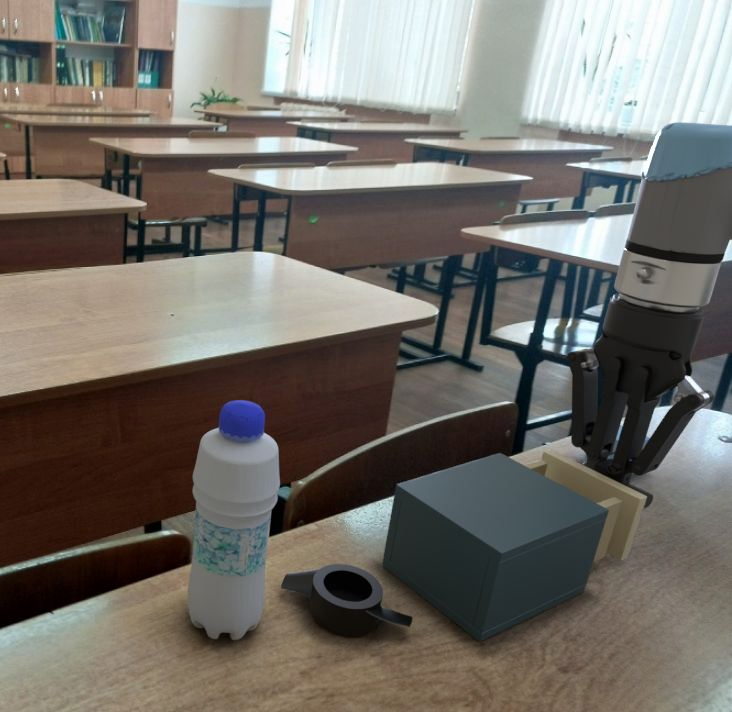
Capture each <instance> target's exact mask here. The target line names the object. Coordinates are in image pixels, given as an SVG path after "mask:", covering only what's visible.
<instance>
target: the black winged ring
mask: <svg viewBox="0 0 732 712" xmlns="http://www.w3.org/2000/svg"><path fill="white" fill-rule="evenodd" d="M280 589H282V590H286V591H290V592H292V593H293V592H294V593H298V594H301V595H303V596H305V597H308V598H310V599H309V609H308V610H309V614H310V617H311V619H312V620H313V621H314V623H315V624H317V626H319V627H320V628H321V629H323V630H324V631H326V632H328V633H330V634H332V635H335V636H338V637H343V638H350V639H351V638H352V639H353V638H355V639H357V638H362V637H366V636H368V635H370V634H371V633H373V632H374V631H375V630H376V629H377V626H378V623H379V620H381V621H384V622H387V623H390V624H394V625H397V626H401V627H407V628H410V627H411V625H412V623H413V616H411V615H408V614H405V613H403V612H402V613H401V612H399V611H396V610H393V609H391V608H388V607H385V606H382V603H383V597H384V590H383V589H384V588H383V586H382V584H381V582H380V581H379V580H378V579H377V577H376V576H374V575H373V574H372V573H371V572H368V571H367V570H365V569H362V568H361V567H359V566H354V565H351V564H345V563H334V564H333V563H332V564H328V565H325V566H322V567H321V568H316V569H309V570H304V571H303V570H301V571H295V572H294V571H293V572H287V573H285V575H284V578H283V579H282V582H281V586H280Z"/></svg>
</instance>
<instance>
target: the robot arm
mask: <svg viewBox="0 0 732 712" xmlns="http://www.w3.org/2000/svg"><path fill="white" fill-rule="evenodd" d="M640 179H641V181H640V185H639V189H638V193H637V197H636V201H635V205H634V210H633V214H632V218H631V222H630V226H629V230H628V234H627V237H626V240H625V244H624V248H623V250H622V254H621V258H620V262H619V267H618V268H617V269H618V270H617V273H616V276H615V280H614V284H613V288H614V289H615V291H616V292H617V293H615V294H613V296H611V297H610V298H609V301H608V305H607V309H606V312H605V316H604V320H603V323H602V334H601V335H600V337H599V338H598V339H597V340H595V343H594V345H593V347H591V348H583V349H579V350H573V351H570V352H568V353H567V354H566V360H567V363H568V366H569V369H570V373H571V375H572V376H571V430H570V431H571V432H570V433H571V435H570V437H571V438H570V439H571V440H570V441H571V444H572V446H573V447H575V448H577V449H578V448H579V449H581V451H583V452H584V453H585V454H586V455H587V462H586V467H588V468H590V469H592V470H594V471H596V472H598V473H600V474H602V475H604V476H606V477H608V478H610V479H613V480H615V481H617V482H619V483H621V484H623V485H625V486H627V487H628V486H629V483H630V484H631V480H632V476H633V475H635V476H643V475H645V474H648V473H650V472H654V471H656V470H657V469H658V468H660V465H662V462H663V461H664V459H665V458H666V456H667V455H668V454H669V452H670V451H671V449H672V448H673V446H674V445H675V443H676V442H677V440H678V439H679V438H680V436H681V435H682V433H683V432H684V430H685V429H686V428H687V426H688V424H690V422H691V420H692V419H693V418H694V416H695V414H696V413H697V412H698V411H700V410H702V409H703V408H705V407H706V406H709V404H711V403H712V402H714V399H715V393H713V391H711V390H709V389H704V390H703V389H702V388H701V387H700V385H698V383H697V382H696V380H694V379H693V377H692V374H693V365H692V360H691V358H692V354H693V352H694V349H695V347H696V344H697V342H698V339H699V335H700V332H701V329H702V325H703V322H704V319H705V316H706V314H705V312H704V310H703V309H702V308H701V307H704V306H706V305H709V304H710V302H711V299H712V295H713V292H714V289H715V285H716V282H717V280H718V279H717V278H718V275H719V272H720V268H721V265H722V261H723V260H724V258H725V254H726V251H727V248H728V246H729V243H730V241H732V124H731V125H729V124H716V123H715V124H714V123H713V124H712V123H701V122H681V121H680V122H671V123H668V124H665V125H664V126H663V127H662V128H661V129H659V131H658V132H657V134H656V135H655V138H654V141H653V143H652V146H651V148H650V150H649V154H648V157H647V160H646V163H645V165H644V168H643V171H642V172H641V176H640ZM598 367H599V369H600V371H601V372H600V373H601V375H602V377H603V383H602V386H601V389H600V397H601V400H600V403H598V402H599V401H598V400H599V399H598V396H599V395H598V394H599V371H598ZM676 387H677V392H676V393H675V394H674V397H673V401H674V402H675V403H674V404H673V405H672V406H671V407H670V408H669V409H668V410H667V412H666V413H665V415H664V416H663V418H662V419H661V420H660V422H659V424H658V425H657V427H656V429H654V431H653V433H652V434H651V436H649V437H650V439H649V440H648V442H647V443H646V445H645V447H644V448H643V445H644V442H645V438H646V436H648V432H649V428H650V426H651V421H652V419H653V415H654V411H655V409H656V408H657V406H658V405H659V403H660V402H661V398H662V396H664V395H665V394H667V393H668V392H670V391H672V390H673V389H675V388H676ZM598 404H599V407H598ZM626 407H627V409H626ZM625 410H626V413H625ZM624 414H625V417H624ZM623 417H624V420H623ZM622 421H623V422H622ZM621 424H622V425H621ZM620 425H621V426H622V430H621V433H620V437H619V440H618V443H617V447H616V450H615V451H614V450H613V448H614V444H615V441H616V437H617V434H618V431H619V427H620ZM642 448H643V450H642ZM612 451H614V452H612ZM613 454H614V457H613V459H611V458H610V459H608V456H610V455H613ZM632 473H634V474H632Z"/></svg>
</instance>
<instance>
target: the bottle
mask: <svg viewBox="0 0 732 712" xmlns="http://www.w3.org/2000/svg"><path fill="white" fill-rule="evenodd" d="M265 422H266V416H265V411H264V410H263V408H262V407H261V406H260V405H259V404H257V403H256V402H253V401H250V400H245V399H244V400H243V399H237V400H231V401H228V402H227V403H225V404H224V405H223V406H222V407H221V409H220V413H219V418H218V427H217V428H214V429H211V430H209V431H208V432H206V433H205V434H204V435H203V436H202V437H201V439H200V442H199V447H198V451H197V456H196V461H195V465H194V469H193V473H192V481H193V486H192V495H193V498H194V500H195V502H196V503H195V514H194V515H195V516H194V529H193V530H194V531H193V541H192V542H193V545H192V546H193V547H192V559H191V565H190V571H189V576H188V577H189V578H188V585H187V606H188V613H189V617H190V620H191V622H192V625H193V626H194V627H195V628H197V629H203V628H204V629H205V631H206V634H207V637H208V638H210V639H212V640H218V639H219V637H220V634H222V633H223V634H225V633H226V634H227V633H228V634H229V637H230V639H231V640H233V641H238V640H241V639H242V638H243V637H244V635H245V634H246V633H247V632H248V631H249V632H250V631H253V630H255V629H256V628H257V627H258V625H259V623H260V621H261V618H262V614H263V610H264V604H265V594H266V565H267V564H266V562H267V555H268V547H269V538H270V529H271V519H272V510H273V509H274V508H275V506H276V505H277V503H278V499H279V498H278V492H279V490H280V486H281V478H280V459H279V456H280V455H279V446H278V444H277V442H276V440H275V439H274V438H273V437H272V436H270V435H268V434H267V433H266V432H265V425H266V423H265Z"/></svg>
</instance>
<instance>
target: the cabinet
mask: <svg viewBox="0 0 732 712" xmlns="http://www.w3.org/2000/svg"><path fill="white" fill-rule="evenodd" d="M524 465H525V464H522V463H520V462H519V461H517V460H515V459H513V458H511V457H509V456H507V455H505V454H503V453H502V452H499V453H495V454H492V455H489V456H486V457H483V458H479V459H476V460H472V461H469V462H465V463H463V464H459V465H456V466H453V467H449V468H446V469H443V470H439V471H436V472H432V473H429V474H426V475H423V476H420V477H417V478H413V479H410V480H407V481H403V482H400V483H397V484H395V489H394V494H393V495H394V496H393V500H392V507H391V512H390V517H389V523H388V530H387V535H386V540H385V546H384V552H383V557H382V562H381V565H382V566H383V567H384V568H385V569H387V571H389V572H390V573H392V574H393V575H394V576H396V577H397V578H398V579H399V580H400V581H402V582H403V583H404V584H405V585H407V586H408V587H409V588H410V589H412V590H413V591H414V592H415V593H417V594H418V595H419V596H421V597H422V598H423V599H425V601H427V602H428V603H430V604H431V605H432V606H433V607H434V608H436V609H437V610H438V611H440V612H441V613H442V614H443V615H445V616H446V617H447V618H448V619H450V620H451V621H452V622H454V624H456V625H457V626H459V627H460V628H461V629H462V630H463V631H465V632H466V633H467V634H469V636H471V637H473V638H474V639H475V640H476V641H477V642H479V643H481V642H482V641H484V640H487V639H489V638H491V637H493V636H495V635H498V634H499V633H501V632H503V631H505V630H507V629H510V628H512V627H513V626H515V625H518V624H520V623H522V622H524V621H526V620H528V619H531V618H533V617H534V616H537V615H539V614H541V613H542V612H545V611H547V610H549V609H551V608H553V607H555V606H557V605H559V604H561V603H563V602H565V601H567V600H569V599H572V598H574V597H576V596H578V595H580V594H583V593H584V592H585V590H586V587H587V584H588V580H589V577H590V575H591V570H592V567H593V565H594V562H593V561H594V558H595V554H596V551H597V548H598V545H599V541H600V538H601V535H602V531H603V528H604V525H605V522H606V518H607V515H608V512H609V510H608V509H606V508H604V507H603V506H601V505H599V504H597V503H595V502H593V501H591V500H589V499H587V498H585V497H583V496H582V495H580V494H578V493H576V492H574V491H572V490H570V489H568V488H566V487H564V486H562V485H561V484H559V483H557V482H555V481H553V480H551V479H549V478H547V477H545V476H543V475H541V474H540V473H538V472H536V471H534V470H532V469H530V468H528V467H526V466H524Z"/></svg>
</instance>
